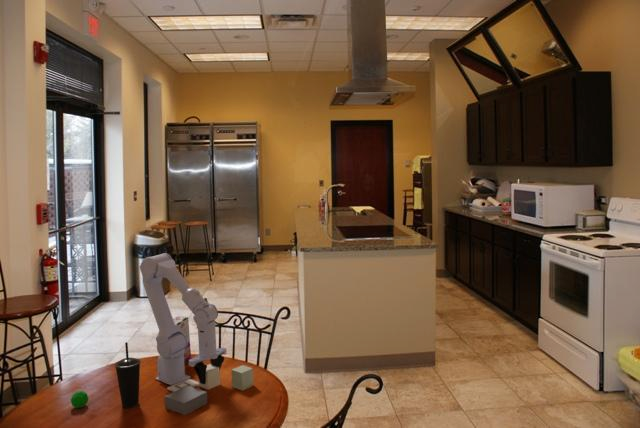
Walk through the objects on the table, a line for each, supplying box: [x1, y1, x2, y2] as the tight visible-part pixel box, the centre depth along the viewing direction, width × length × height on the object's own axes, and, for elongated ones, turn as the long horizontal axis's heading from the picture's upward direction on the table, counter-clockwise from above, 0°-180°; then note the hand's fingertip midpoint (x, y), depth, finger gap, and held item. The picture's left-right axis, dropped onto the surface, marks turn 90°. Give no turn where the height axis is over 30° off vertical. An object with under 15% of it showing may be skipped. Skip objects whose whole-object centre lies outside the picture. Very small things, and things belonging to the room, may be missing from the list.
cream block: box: [198, 363, 221, 390], centre depth 175 cm, size 5×5×6 cm
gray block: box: [164, 386, 208, 416], centre depth 160 cm, size 9×9×4 cm
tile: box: [166, 378, 199, 393], centre depth 174 cm, size 6×9×1 cm, turn 141°
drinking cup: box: [114, 341, 142, 409], centre depth 161 cm, size 8×8×20 cm
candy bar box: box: [169, 315, 192, 364], centre depth 196 cm, size 11×5×16 cm, turn 169°
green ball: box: [70, 390, 89, 409], centre depth 161 cm, size 5×5×5 cm
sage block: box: [231, 364, 254, 391], centre depth 173 cm, size 5×5×6 cm
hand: (209, 380), depth 175 cm, fingers closed on cream block, 5 cm apart
